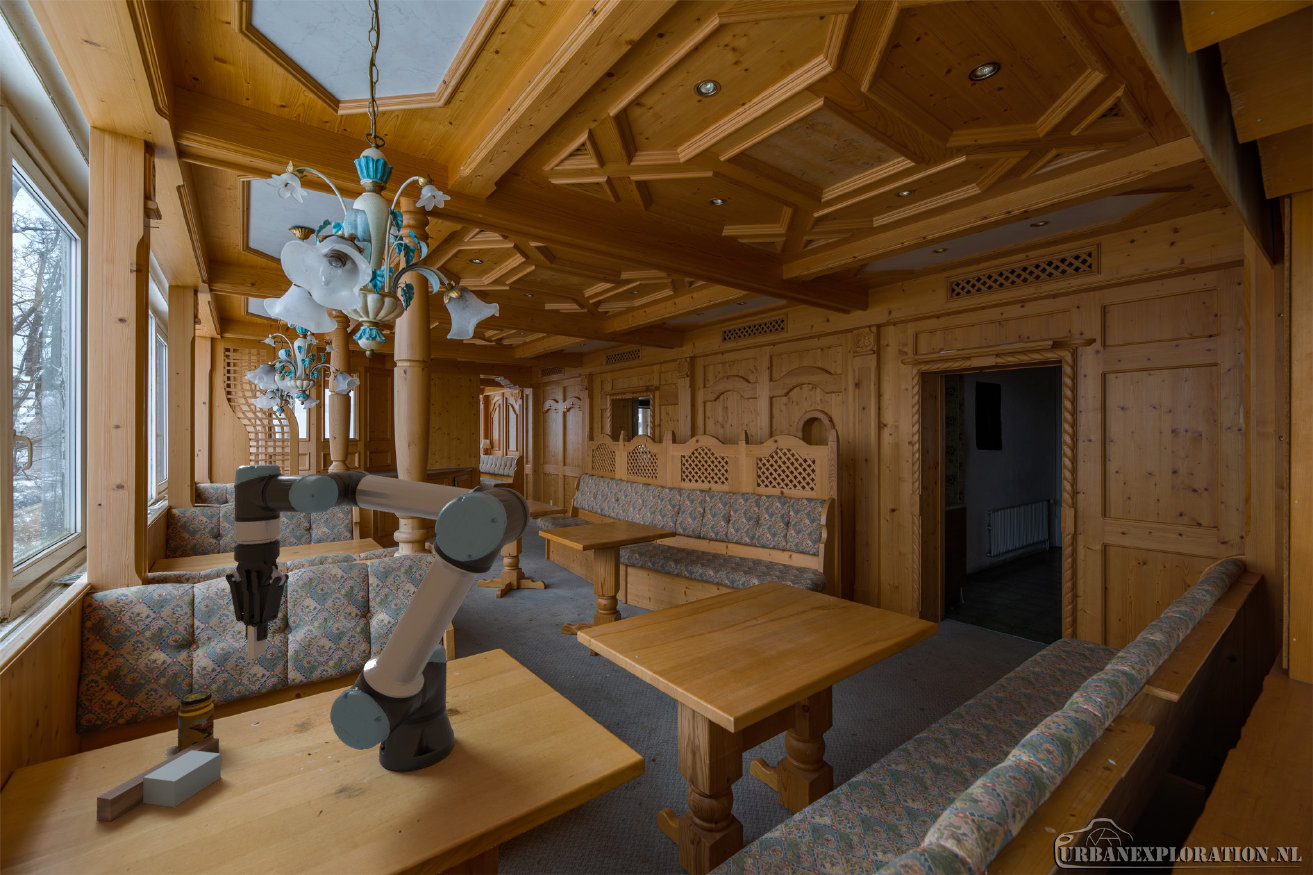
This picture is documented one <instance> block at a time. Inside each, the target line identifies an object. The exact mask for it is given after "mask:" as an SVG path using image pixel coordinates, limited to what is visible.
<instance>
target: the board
mask: <svg viewBox="0 0 1313 875" xmlns="http://www.w3.org/2000/svg"><path fill="white" fill-rule="evenodd" d="M191 750H193V751H202V752H210V753H219V754H220V738H218V737H217V738H210V737H207V738H205V739H203V740H201V741H200V742H198V743H196V744H194V745H192V746H190V747H189V748H187V749H185V750H183V751H181V752H179V753H177V754H176V755H174V756H172V757H170V758H168V759H166V760H165V761H163V760H162V761H161V762H159V763H157V764H156V765H154V766H152V767H150V768H148V769H147V770H144V771H142V772H141V773H139V774H137V775H135V776H133V777H132V778H130V779H128V780H126V781H124V782H122V783H120V784H119V785H117V786H115V787H113V788H111V789H110V790H108V791H105V792H104V793H102V794H100V795H99V796H97V797H96V820H98V821H104V822H110V823H111V822H112V821H114V820H116V819H117V818H119V817H120V816H123V814H126V813H127V812H129V811H131V810H132V809H134V808H136V807H137V806H139V805H141V804H144V803H143V777H145V776H147V775H148V774H150V773H152V772H154V771H156V770H157V769H159V768H161V767H163V766H165V765H166V764H168V763H170V762H172V761H173V760H175V759H177V758H179V757H181V756H182V755H184V754H186V753H188V752H190V751H191Z"/></svg>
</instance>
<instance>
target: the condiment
mask: <svg viewBox="0 0 1313 875" xmlns="http://www.w3.org/2000/svg"><path fill="white" fill-rule="evenodd" d="M212 696H213V695H212V692H211V691H209V690H201V691H195V692H191V693H188V694H186V695H185V696H183V697H182V698H181V700H180V705H179V706H180V707H179V709H180V710H179V711H178V713H177V745H172V746H169V747H168V748H167V751H166V753H165V756H167V757H165V756H164V758H163V760H162V762H163V761H165V760H166V759H168V758H170V757H172V756H174V755H176V754H177V753H179V752H181V751H183V750H185V749H187V748H189V747H190V746H192V745H194V744H196V743H198V742H200V741H201V740H203V739H205V738H207V737H210V738H218V736H215V735H214V734H215V733H214V731H215V730H214V726H215V725H214V723H215V722H214V721H215V720H214V718H215V714H214V712H215V705H214V703H213V699H212Z"/></svg>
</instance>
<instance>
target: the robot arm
mask: <svg viewBox="0 0 1313 875" xmlns="http://www.w3.org/2000/svg"><path fill="white" fill-rule="evenodd" d="M233 489H234V524H233V525H234V526H233V527H234V528H233V541H236V543H235V544H234V545H233V559H234V561H235V562H236V563H237V565H236V567H235V570H234V571H233V572H231V573H227V574H226V575H225V581H226V582H227V584H228V585H229V590H230V595H231V601H232V605H233V606H232V607H233V609H234V610H233V612H234V616H235V620H236V621H237V622H242V623H243V624H244V626H245V640H246V641H247V644H246V645H247V649H246V650H247V655H246V656H247V658H246V659H252V660H253V659H254V660H255V659H257V658H259V657H260V656H261V657H262V656H263V655H266V648H267V647H266V646H267V645H266V644H267V643H266V640H267V639H268V637H269V623H270V622H273V621H276V620H277V619H278V618H279V612H280V609H281V603H282V599H283V594H284V589H285V586H286V584H287V582H288V581H289V578H290V575H289V574H288V573H285V574H282V573H281V572H280V571H279V566H278V564H277V560H278V559H279V557H280V553H281V550H280V549H281V540H279V539H278V538H279V537H280V533H281V532H280V530H281V528H280V526H281V524H280V523H281V513H301V514H302V513H304V514H308V515H309V514H317V513H325V512H328V511H330V509H331V508H337V507H344V506H345V507H353V508H360V509H366V510H374V511H379V512H380V511H381V512H386V513H392V514H399V515H406V516H412V517H418V518H425V519H430V520H435V521H436V523H435V526H434V532H435V534H436V537H435V540H434V542H433V544H432V550H433V554H434V555H435V557H434V558H433V561H432V562H431V564H430V566H429V568H428V570H427V571H426V573H425V574H424V576H423V579H422V580H421V582H420V583H419V586H418V587H417V589H416V591H415V592H414V594H413V596H412V598H411V600H410V601H409V603H408V605H407V606H406V608H405V610H404V612H403V614H402V615H401V617H400V618H399V621H398V623H397V624H396V626H395V628H394V630H393V631H392V633H391V635H389V636H390V637H389V638H388V640H387V642H386V644H385V646H384V647H383V649H382V651H381V653H380V654H377V655H375V656H372V657H371V658H370V659H368V660H367V662H366V663H365V665H364V666H363V668H362V669H361V672H360V674H359V675H358V677H357V678H356V680H355V682H354V683H353V684H352V685H351V687H350V688H348V689H345V690H344V691H342V692H341V693H340V694H339V695H338V696H337V697H336V698H335V699H334V700H333V703H332V705H331V708H330V716H329V717H330V723H331V725H332V727H333V731H334V733H335V735H336V736H337V738H338V739H339V740H340V741H341V743H343V744H345V745H346V746H348V747H349V748H352V749H355V750H357V751H358V750H360V751H361V750H362V751H363V750H370V749H372V748H374V747H376V746H378V745H379V744H380V745H379V751H378V761H379V764H380V765H381V766H382V767H383V768H384V769H387V770H390V771H395V772H397V771H398V772H406V771H414V770H420V769H423V768H427V767H429V766H431V765H434V764H436V763H438V762H440V761H441V760H443V759H445V758H446V757H447V756H448V755H450V753H451V752H452V750H453V749H454V747H455V746H454V745H455V733H454V729H453V727H452V724H451V721H450V719H449V716H448V712H447V670H448V667H447V664H448V660H447V649H446V648H445V647H444V646H443V644H440V642H441V640H442V638H443V636H444V634H445V633H446V631H447V629H448V627H449V626H450V624H451V622H452V621H453V618H454V617H455V616H456V613H457V612H458V610H459V608H460V607H461V605H462V603H463V601H464V599H465V598H466V596H467V594H468V593H469V591H470V590H471V588H472V585H473V584H474V582H475V580H476V579H477V577H478V576H481V575H485V574H488V573H489V572H490V570H491V569H492V567H493V565H494V563H495V562H496V560H497V558H498V556H499V554H500V553H501V551H502V549H503V548H504V547H505V546H506V545H509V544H512V543H513V542H515V541H517V540H519V539H520V538H521V537H522V536H523V535H524V534H525V532H526V531H527V529H528V527H529V524H530V520H531V510H530V509H531V508H530V506H529V503H528V501H527V500H526V498H525V497H524V496H523V495H522V494H521V493H520V492H518V491H516V490H515V489H512V488H508V487H492V486H482V485H477V486H476V487H474V488H473V489H471V488H470V489H469V488H465V487H464V488H462V487H458V486H450V485H443V484H435V483H429V482H423V481H415V480H409V479H403V478H402V479H401V478H395V477H388V476H383V475H382V476H380V475H376V474H375V475H374V474H371V473H369V472H367V471H365V470H354V469H353V470H352V469H351V470H348V471H339V472H326V473H325V472H324V473H312V474H282V472H281V467H280V466H279V465H278V464H243V465H240V466H238V467H237V468H236V470H235V475H234V485H233Z"/></svg>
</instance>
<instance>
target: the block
mask: <svg viewBox="0 0 1313 875" xmlns="http://www.w3.org/2000/svg"><path fill="white" fill-rule="evenodd" d="M221 754H222V753H220V752H219V753H210V752H202V751H193V750H191V751H190V752H188V753H186V754H184V755H182V756H181V757H179V758H177V759H175V760H173V761H172V762H170V763H168V764H166V765H165V766H163V767H161V768H159V769H157V770H156V771H154V772H152V773H150V774H148V775H147V776H145V777H143V803H142V804H148V803H149V805H156V804H157V805H156V806H163V807H164V806H165V807H171V808H176V807H177V806H178V805H180V804H181V803H183V802H184V801H186V800H188V799H189V798H191V797H193V796H195V795H196V794H197V793H199V792H200V791H202V790H203V789H205V788H207V787H208V786H209V785H211V784H213V783H215V782H216V781H217V780H219V779H221V776H222V775H221V771H222V767H221V766H222V764H221V762H222V761H221V760H222V755H221Z"/></svg>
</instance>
